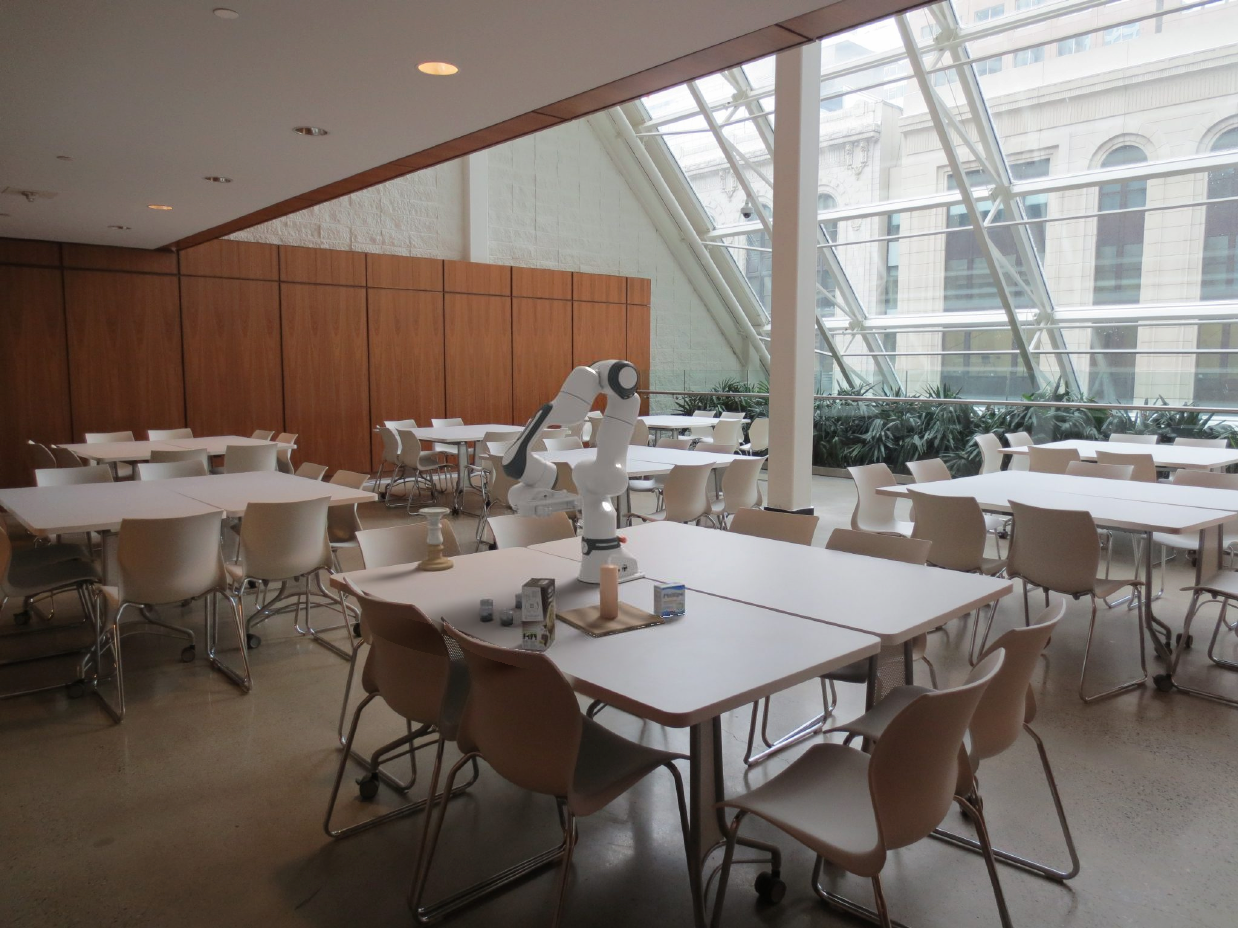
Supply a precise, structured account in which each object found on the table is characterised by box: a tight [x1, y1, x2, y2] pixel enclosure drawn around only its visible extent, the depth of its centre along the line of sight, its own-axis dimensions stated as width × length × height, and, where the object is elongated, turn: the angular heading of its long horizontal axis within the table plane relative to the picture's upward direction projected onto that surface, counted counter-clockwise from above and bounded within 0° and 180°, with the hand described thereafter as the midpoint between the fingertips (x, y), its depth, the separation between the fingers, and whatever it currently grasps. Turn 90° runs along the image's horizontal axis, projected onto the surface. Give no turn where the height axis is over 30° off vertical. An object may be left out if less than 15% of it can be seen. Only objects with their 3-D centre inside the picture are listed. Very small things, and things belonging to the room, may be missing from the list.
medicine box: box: [653, 581, 686, 618], centre depth 239 cm, size 8×4×9 cm, turn 117°
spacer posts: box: [479, 592, 522, 627], centre depth 238 cm, size 21×19×4 cm
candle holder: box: [416, 506, 454, 572], centre depth 295 cm, size 12×12×20 cm
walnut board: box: [555, 600, 666, 637], centre depth 235 cm, size 22×22×1 cm
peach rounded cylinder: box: [599, 564, 619, 619], centre depth 234 cm, size 5×5×14 cm
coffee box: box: [521, 577, 556, 651], centre depth 213 cm, size 9×6×16 cm
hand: (563, 509), depth 245 cm, fingers open, 8 cm apart
